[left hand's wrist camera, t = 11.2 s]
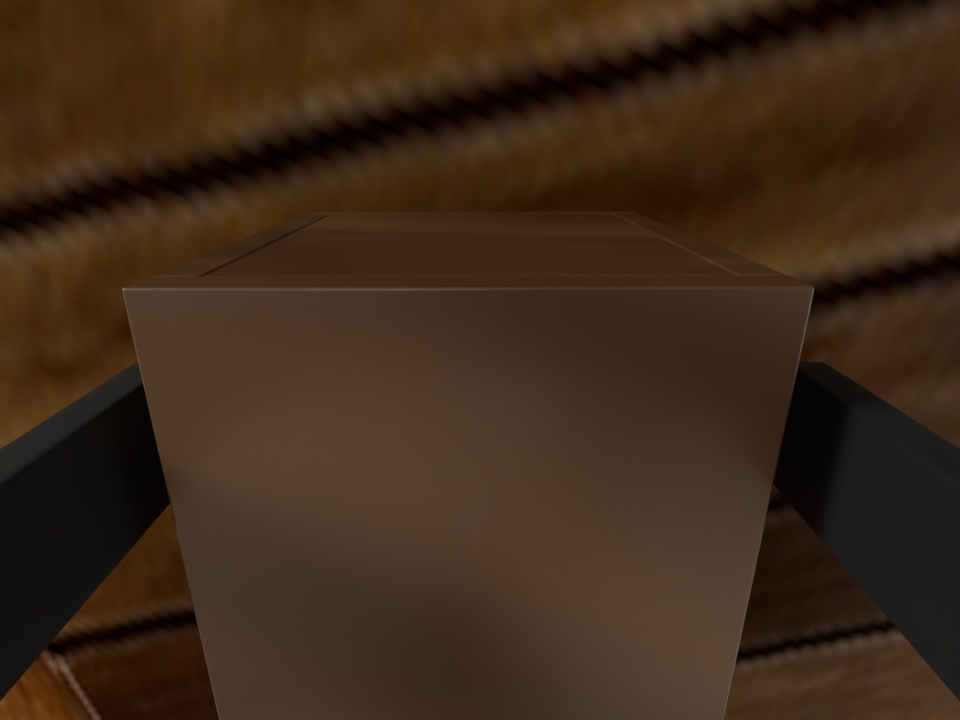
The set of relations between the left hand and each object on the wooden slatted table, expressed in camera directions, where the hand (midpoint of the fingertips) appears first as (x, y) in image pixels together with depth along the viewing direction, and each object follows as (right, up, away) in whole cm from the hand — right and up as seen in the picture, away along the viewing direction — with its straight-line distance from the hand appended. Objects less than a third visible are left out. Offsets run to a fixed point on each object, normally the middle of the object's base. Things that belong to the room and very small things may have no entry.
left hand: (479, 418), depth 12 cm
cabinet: (0, -3, +10) cm, 10 cm away
